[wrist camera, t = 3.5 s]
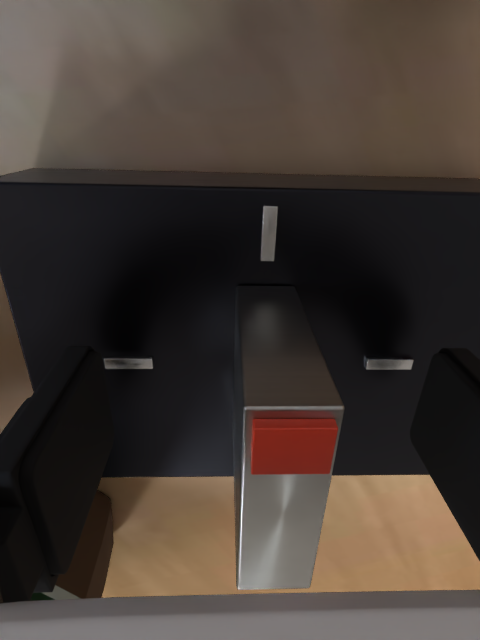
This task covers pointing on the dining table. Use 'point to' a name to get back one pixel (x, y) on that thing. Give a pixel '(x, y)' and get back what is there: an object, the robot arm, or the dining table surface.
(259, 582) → the knob
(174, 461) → the panel
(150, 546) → the dining table surface
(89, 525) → the beer bottle
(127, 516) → the dining table surface
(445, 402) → the robot arm
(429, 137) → the dining table surface
